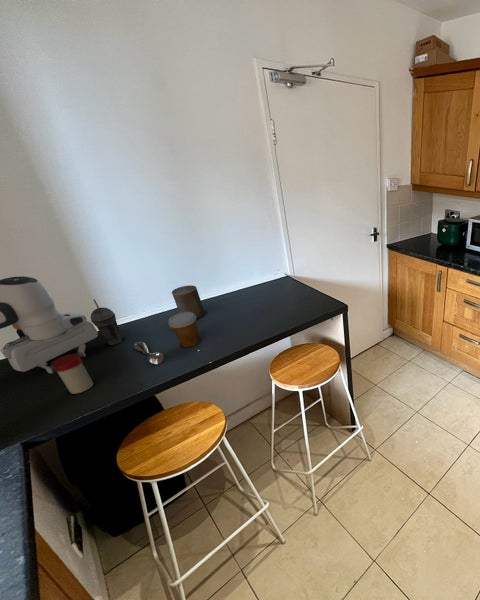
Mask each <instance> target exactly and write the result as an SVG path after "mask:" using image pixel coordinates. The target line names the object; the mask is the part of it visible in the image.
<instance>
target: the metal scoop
mask: <svg viewBox="0 0 480 600" xmlns="http://www.w3.org/2000/svg"><path fill="white" fill-rule="evenodd" d="M138 344H139V345H138ZM132 346H133V348H134V349H135V350H136V351H138V352H139V353H142V354H144V355H145V354H146V355H147V357H146V360H147V361H148V362H149V363H151V364H154V365H160V364H161V363H162V362H163V361H164V355H163V353H162V352H150V351H149V349H148V346H147V344H146V343H145V342H143V341H135V342H134V343H133V345H132Z"/></svg>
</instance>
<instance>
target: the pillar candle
mask: <svg viewBox="0 0 480 600" xmlns="http://www.w3.org/2000/svg"><path fill="white" fill-rule="evenodd" d="M171 294H172V298H173V300H174V303H175V305H176V308H177V310H178V314H179V313H184V312H191V313H194V315H196V317H197V318H196V320H198V319H200V318H202V317H204V316H205V314H206V312H205V310H204V306H203V302H202V300H201V297H200V293H199V291H198V288H197V287H196V286H195V285H192V284H191V285H183V286H182V285H181V286H179V287H177V288H174V289H173V290H172V291H171Z"/></svg>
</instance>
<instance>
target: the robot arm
mask: <svg viewBox="0 0 480 600" xmlns="http://www.w3.org/2000/svg"><path fill="white" fill-rule="evenodd" d="M13 324H18V325H19V326H20V328H21V330H22V331H23V333H24V334H25V336H23V337H21V338H20V337H19V338H17V339H14V340H13V341H9V342H7V343H5V345H4V346H2V348H1V350H0V351H1V354H2V355H3V357H4V358H6V359H8V362H9V364H10V366H11V367H12V369H13V370H15V371H18V372H27V371H30V370H32V369H34V368H37V367H39V368H42V369H45V370H46V372H47V373H48V374H54V373H55V372H57V369H56V368H55V366H49V367H47V366H45V365H47V363H46V361H49V360H51V359H53V358H55V357H57V356H59V355H61V354H63V353H65V352H67V351H69V350H72V349H74V348H76V349H77V348H78V349H77V353H75V354H78V355H79V356H80V357H81V359H83V358H85V357H87V355H86V353H85V350H86V348H87V347H86V344H87V343H88V342H91V341H92V340H95V339H97V338H98V335H99V331H98V329H96V328H97V327H96V326H95V325H94V323H93V322H92V321H89V320H88V319H87V316H86V315H84V314H81V313H77V312H76V313H75V312H67V313H61V311H60V310H59V309H57V308H56V306H55V301H54V299H53V297H52V295H51V294H50V292H49V291H48V289H47V288H46V287H45V286H44V285H43V283H42V282H41V281H39V280H38V279H37V278H35V277H31V276H10V277H4V278H2V279H0V330H2V329H4V328H8V327H9V326H12V325H13Z"/></svg>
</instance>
